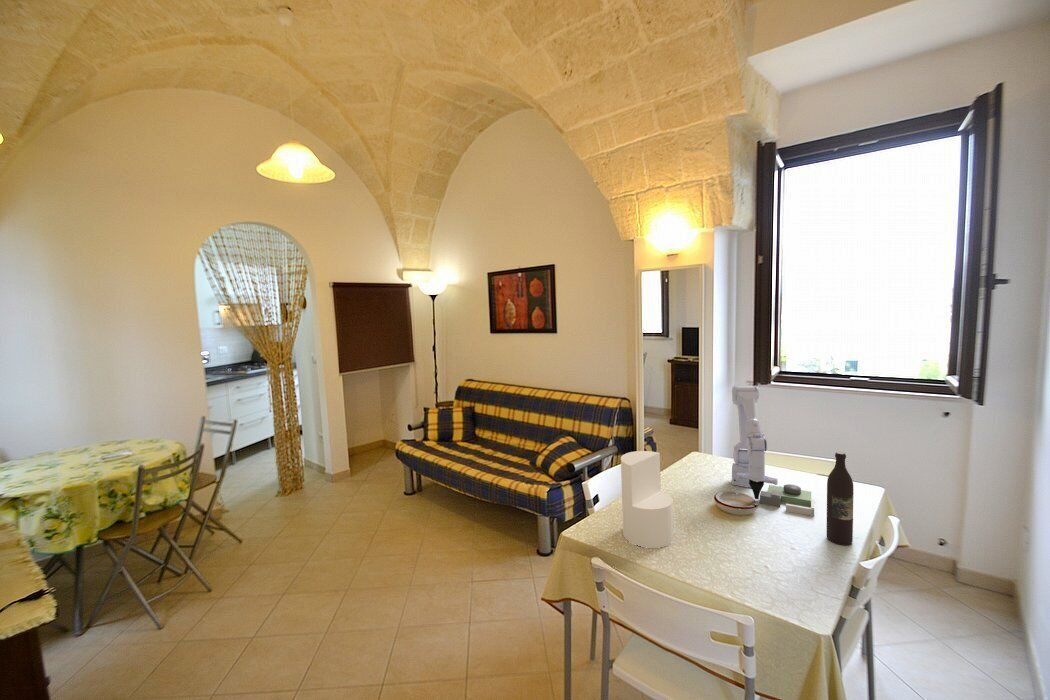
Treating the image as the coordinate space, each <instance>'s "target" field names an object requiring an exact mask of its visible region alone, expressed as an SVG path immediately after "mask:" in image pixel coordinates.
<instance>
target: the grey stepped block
mask: <svg viewBox="0 0 1050 700" xmlns="http://www.w3.org/2000/svg"><path fill="white" fill-rule="evenodd" d="M759 505H764V506H765V505H766V506H770V507H775V508H781V505H782V502H781V494H780V491H776V490H772V493H771V492H768V491H765V490H761V491H760V493H759Z"/></svg>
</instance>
